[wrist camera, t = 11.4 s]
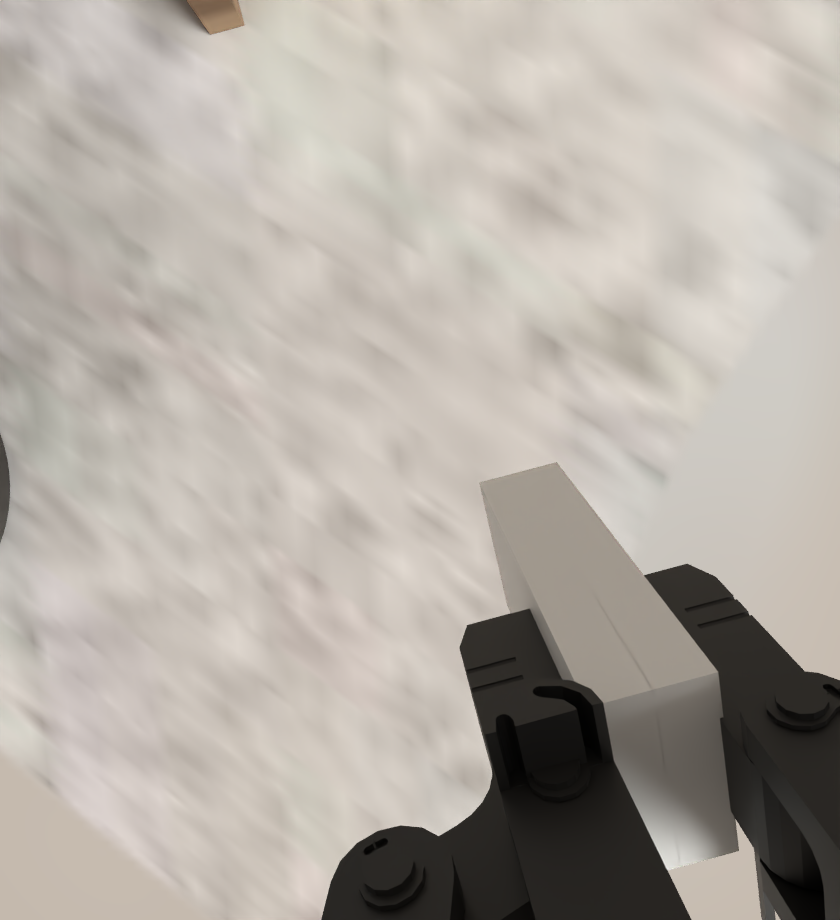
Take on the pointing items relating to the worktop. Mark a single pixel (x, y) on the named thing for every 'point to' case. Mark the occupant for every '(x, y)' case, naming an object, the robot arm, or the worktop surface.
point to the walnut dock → (218, 14)
